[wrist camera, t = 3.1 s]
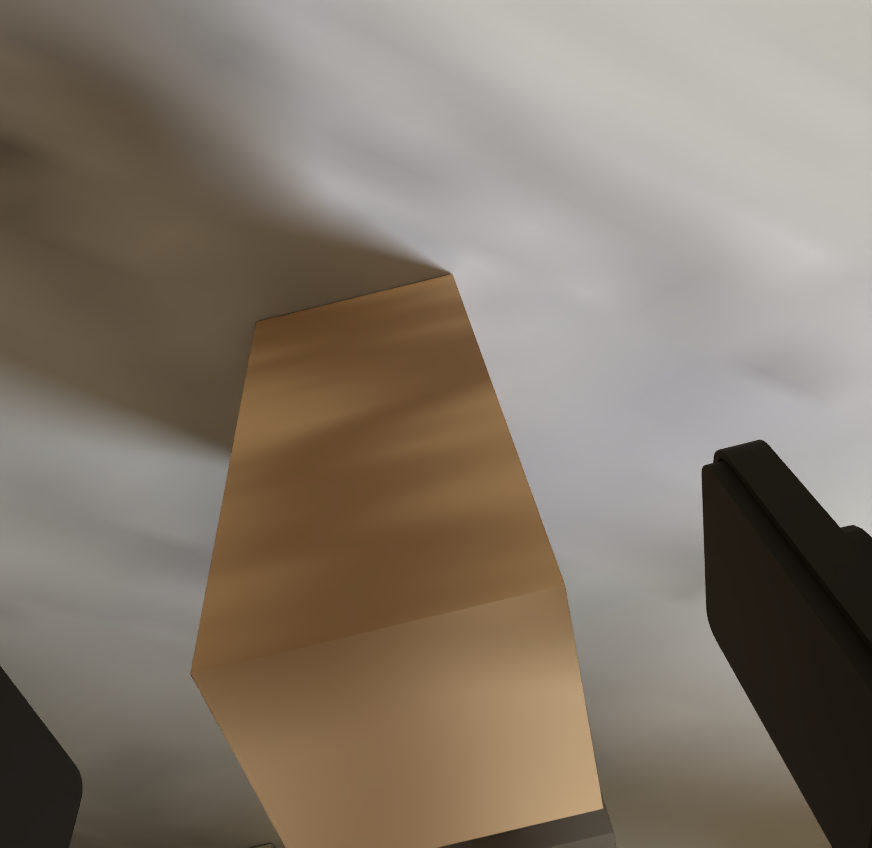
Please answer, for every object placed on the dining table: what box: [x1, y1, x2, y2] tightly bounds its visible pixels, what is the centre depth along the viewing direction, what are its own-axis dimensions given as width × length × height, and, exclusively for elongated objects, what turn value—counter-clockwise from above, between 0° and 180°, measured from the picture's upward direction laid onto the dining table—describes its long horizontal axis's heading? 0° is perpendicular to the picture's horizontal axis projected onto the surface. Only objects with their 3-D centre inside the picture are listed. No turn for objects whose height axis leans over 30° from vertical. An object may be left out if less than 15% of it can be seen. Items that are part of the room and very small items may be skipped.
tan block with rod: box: [190, 274, 616, 848], centre depth 17 cm, size 6×17×9 cm, turn 12°
